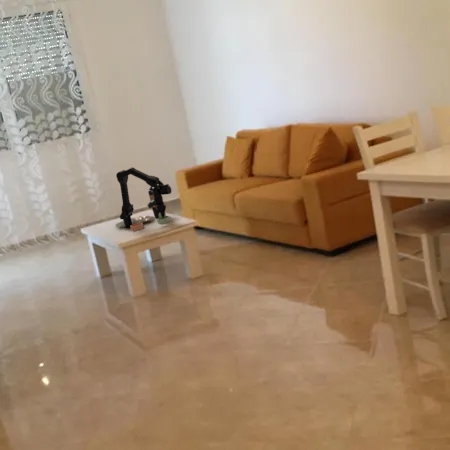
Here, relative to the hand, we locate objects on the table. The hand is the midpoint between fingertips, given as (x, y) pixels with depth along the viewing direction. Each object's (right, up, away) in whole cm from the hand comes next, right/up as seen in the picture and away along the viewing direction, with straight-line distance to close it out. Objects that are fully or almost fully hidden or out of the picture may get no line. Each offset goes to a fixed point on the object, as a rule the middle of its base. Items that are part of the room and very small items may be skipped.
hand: (162, 217), depth 483 cm
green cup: (+1, -3, +1) cm, 4 cm away
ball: (0, +1, 0) cm, 2 cm away
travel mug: (-4, 0, +19) cm, 19 cm away
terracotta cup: (-17, -8, -2) cm, 19 cm away
